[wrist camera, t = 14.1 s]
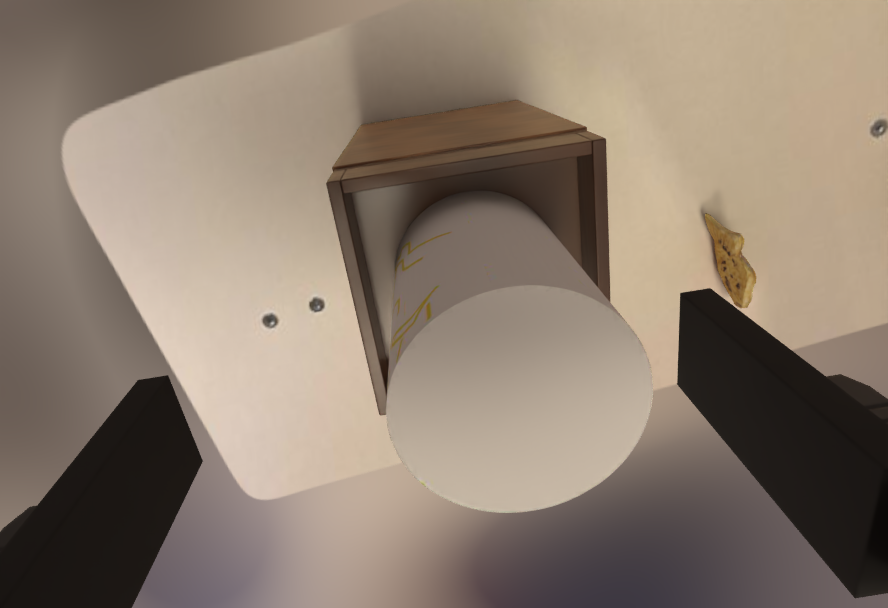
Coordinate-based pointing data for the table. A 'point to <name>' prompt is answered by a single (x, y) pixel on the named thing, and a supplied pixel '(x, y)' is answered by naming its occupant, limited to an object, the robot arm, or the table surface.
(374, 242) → the holder
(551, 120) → the stand
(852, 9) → the table surface
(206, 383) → the table surface
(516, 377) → the white patterned cylinder
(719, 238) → the pastry
